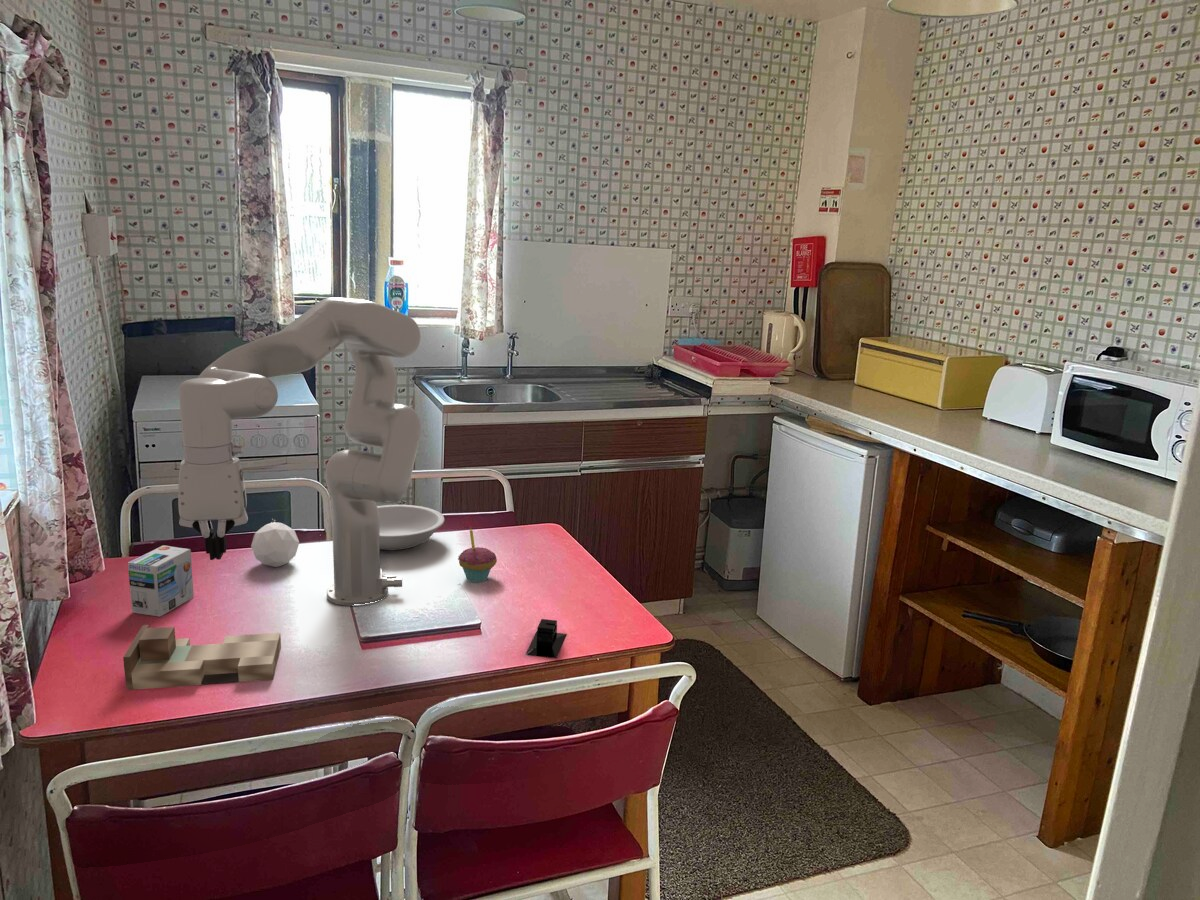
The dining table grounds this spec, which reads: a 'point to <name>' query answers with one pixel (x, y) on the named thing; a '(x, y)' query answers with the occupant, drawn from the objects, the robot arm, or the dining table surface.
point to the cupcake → (477, 562)
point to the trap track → (205, 662)
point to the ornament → (275, 544)
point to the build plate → (546, 640)
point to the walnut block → (157, 644)
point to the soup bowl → (407, 525)
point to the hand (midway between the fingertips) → (216, 556)
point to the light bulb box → (160, 580)
